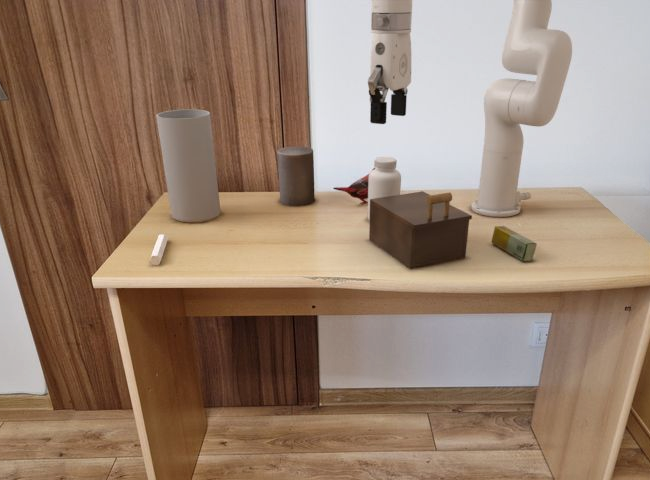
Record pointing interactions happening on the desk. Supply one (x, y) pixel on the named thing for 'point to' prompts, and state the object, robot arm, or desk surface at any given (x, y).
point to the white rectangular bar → (158, 249)
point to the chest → (418, 240)
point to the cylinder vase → (189, 164)
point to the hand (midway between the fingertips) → (388, 119)
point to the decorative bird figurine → (358, 189)
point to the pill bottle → (383, 180)
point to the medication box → (514, 243)
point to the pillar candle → (296, 176)
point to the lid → (421, 209)
